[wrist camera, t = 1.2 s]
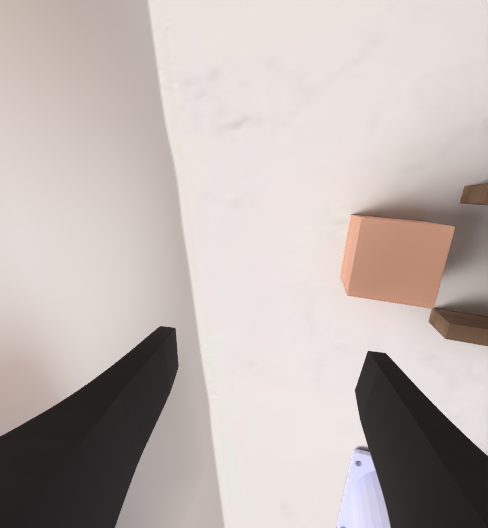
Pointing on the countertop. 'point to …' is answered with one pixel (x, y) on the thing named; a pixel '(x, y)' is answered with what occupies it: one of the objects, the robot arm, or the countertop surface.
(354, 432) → the countertop surface
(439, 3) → the countertop surface
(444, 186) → the countertop surface
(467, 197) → the walnut bay
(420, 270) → the terracotta block
